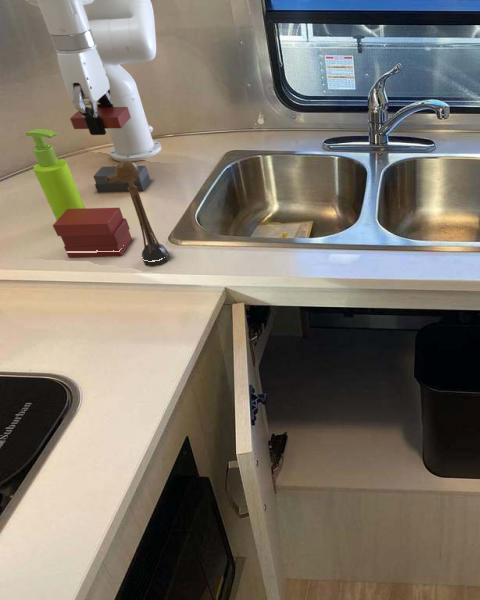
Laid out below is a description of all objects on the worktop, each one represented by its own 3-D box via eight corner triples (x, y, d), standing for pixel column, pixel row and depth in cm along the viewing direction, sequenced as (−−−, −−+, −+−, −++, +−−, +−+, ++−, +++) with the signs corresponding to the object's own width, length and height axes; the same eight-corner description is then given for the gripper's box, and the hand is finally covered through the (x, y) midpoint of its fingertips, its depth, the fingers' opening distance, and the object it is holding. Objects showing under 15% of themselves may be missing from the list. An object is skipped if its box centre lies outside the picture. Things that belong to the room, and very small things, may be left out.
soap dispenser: (82, 231, 114) (42, 137, 101) (53, 228, 115) (10, 135, 102) (100, 217, 118) (63, 126, 106) (71, 214, 119) (32, 124, 107)
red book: (74, 129, 118) (69, 118, 117) (85, 118, 123) (81, 107, 122) (121, 128, 118) (117, 117, 117) (131, 117, 123) (127, 106, 122)
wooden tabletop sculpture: (147, 272, 102) (111, 171, 90) (133, 263, 104) (96, 164, 92) (175, 257, 106) (143, 159, 93) (160, 249, 108) (128, 152, 95)
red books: (67, 257, 106) (52, 225, 102) (81, 240, 111) (67, 208, 106) (122, 256, 106) (110, 223, 102) (133, 239, 111) (122, 207, 107)
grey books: (97, 192, 127) (91, 176, 125) (106, 181, 132) (100, 166, 129) (143, 191, 128) (138, 175, 125) (151, 180, 132) (146, 165, 129)
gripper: (73, 30, 117) (102, 113, 128) (34, 53, 103) (71, 144, 115) (108, 29, 117) (135, 113, 128) (74, 53, 103) (107, 144, 115)
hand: (104, 127), depth 121 cm, fingers closed on red book, 6 cm apart
